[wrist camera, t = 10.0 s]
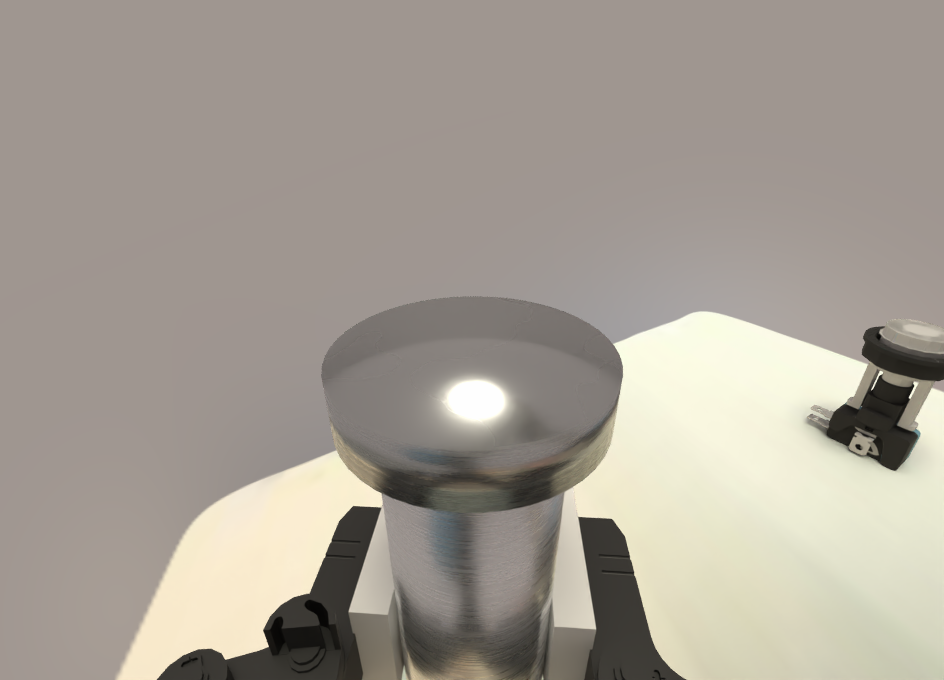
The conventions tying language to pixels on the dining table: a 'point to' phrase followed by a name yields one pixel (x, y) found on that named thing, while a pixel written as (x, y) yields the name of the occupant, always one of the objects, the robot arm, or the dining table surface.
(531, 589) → the steel pin
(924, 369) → the push button
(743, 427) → the dining table surface
